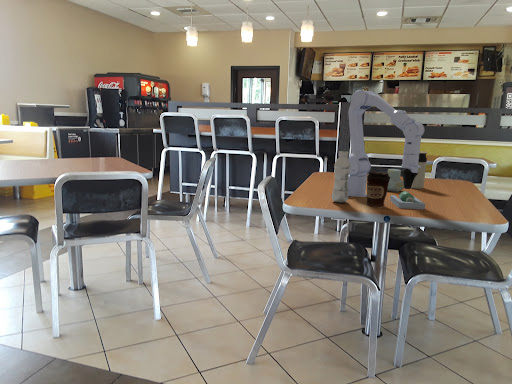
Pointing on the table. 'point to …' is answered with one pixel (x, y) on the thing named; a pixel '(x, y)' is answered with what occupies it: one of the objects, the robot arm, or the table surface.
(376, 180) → the coffee cup
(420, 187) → the travel mug
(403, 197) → the bottle
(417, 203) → the cradle
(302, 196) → the table surface
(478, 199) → the table surface
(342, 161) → the plastic bottle
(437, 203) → the table surface
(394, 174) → the air freshener
